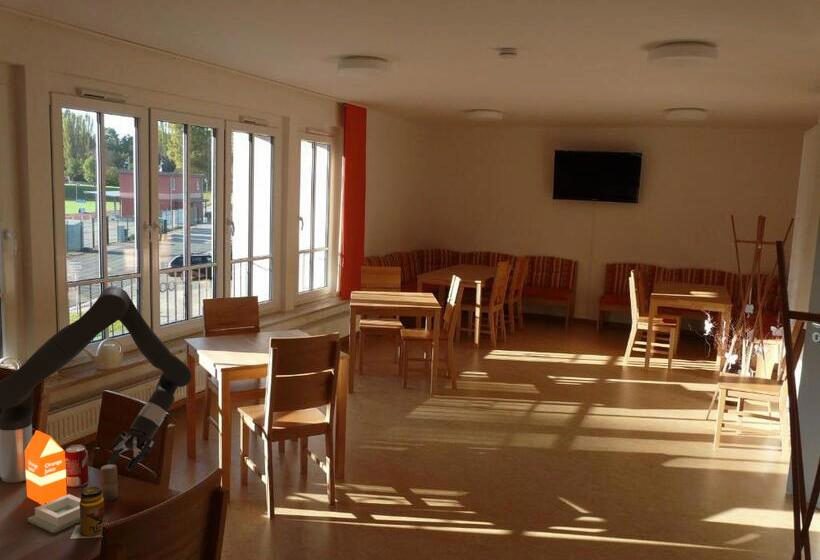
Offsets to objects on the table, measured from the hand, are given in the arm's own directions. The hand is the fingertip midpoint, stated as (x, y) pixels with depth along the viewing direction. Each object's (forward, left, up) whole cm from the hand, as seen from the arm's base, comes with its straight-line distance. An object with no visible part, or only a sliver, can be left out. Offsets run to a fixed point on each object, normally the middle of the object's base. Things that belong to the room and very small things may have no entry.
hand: (119, 466), depth 215 cm
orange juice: (-16, -14, -9) cm, 23 cm away
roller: (0, -4, -8) cm, 9 cm away
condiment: (+13, -20, -9) cm, 25 cm away
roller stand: (0, -19, -8) cm, 20 cm away
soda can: (-16, -4, -9) cm, 19 cm away
